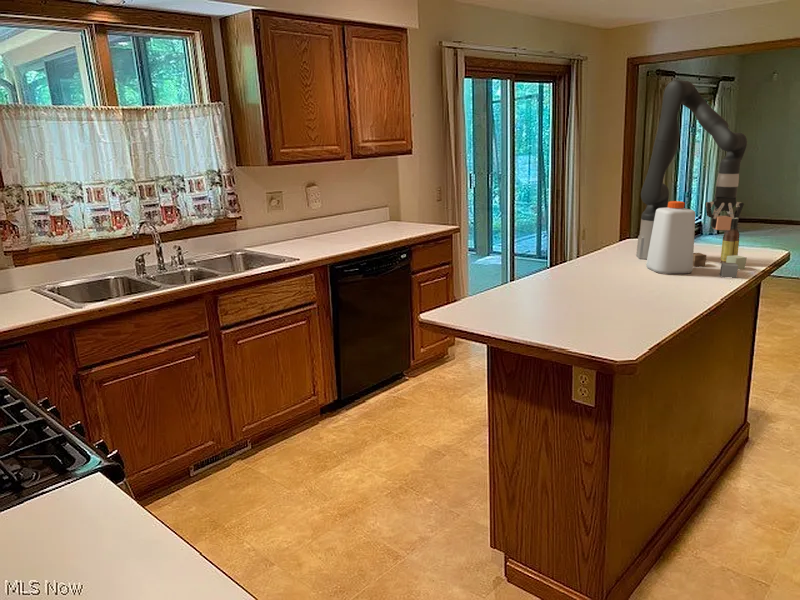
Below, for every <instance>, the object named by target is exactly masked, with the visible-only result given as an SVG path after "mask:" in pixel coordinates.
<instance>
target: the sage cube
mask: <svg viewBox="0 0 800 600" xmlns="http://www.w3.org/2000/svg"><path fill="white" fill-rule="evenodd" d="M726 263H736V264H737V265H738V269H742V270H746V269H745V268H746V264H747V257H745V256H743V255H739V254H738V255H733V256H727V259H726Z"/></svg>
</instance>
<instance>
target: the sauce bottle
mask: <svg viewBox="0 0 800 600" xmlns="http://www.w3.org/2000/svg"><path fill="white" fill-rule="evenodd" d="M739 219H740V218H739V217H738V218H734V219H733V225H732V227H731V228H730V230H724V233H723V235H722V241H721V242H722V243H721V251H720V263H721V262H724V263H726V259H727V256H733V255H738V256H739V247H740V232H739V230H738V226H739V225H738V223H739Z"/></svg>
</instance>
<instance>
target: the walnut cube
mask: <svg viewBox="0 0 800 600" xmlns="http://www.w3.org/2000/svg"><path fill="white" fill-rule="evenodd" d="M706 263H707V254H705V253H701V252H693V268H700V267H699V266H705V267H706Z"/></svg>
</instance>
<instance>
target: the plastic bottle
mask: <svg viewBox="0 0 800 600" xmlns="http://www.w3.org/2000/svg"><path fill="white" fill-rule="evenodd" d="M685 204H686V203H685V202H684V201H681V200H680V201H679V200H670V201H669V200H668V205H667V208H658V209H657V210H656V213H655V218H654V224H653V229H652V235H651V240H650V246H649V251H648V257H647V259H646V263H645V266H646V268H647V269H649V270H651V271H653V272H655V273H657V274H663V275H685V274H690V273H692V272H693V270H694V269H693V268H694V267H693V253H695V252H694V250H695V231H696V230H695V228H696V211H694V209H690V208H685Z"/></svg>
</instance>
